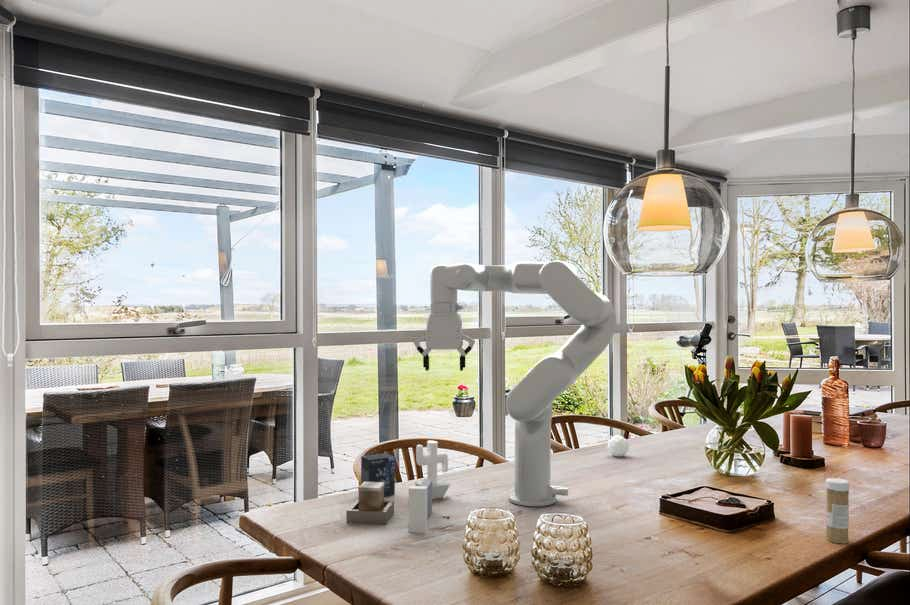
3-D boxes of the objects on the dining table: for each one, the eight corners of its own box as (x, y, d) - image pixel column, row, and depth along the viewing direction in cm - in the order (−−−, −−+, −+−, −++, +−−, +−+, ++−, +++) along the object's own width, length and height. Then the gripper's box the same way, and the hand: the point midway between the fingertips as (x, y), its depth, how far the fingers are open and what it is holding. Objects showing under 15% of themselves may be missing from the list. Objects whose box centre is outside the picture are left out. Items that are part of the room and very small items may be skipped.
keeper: (394, 512, 169) (394, 500, 169) (385, 524, 160) (385, 512, 160) (356, 511, 170) (357, 499, 170) (346, 523, 161) (346, 510, 161)
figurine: (453, 497, 183) (454, 441, 183) (423, 502, 178) (423, 445, 178) (440, 490, 189) (440, 437, 189) (410, 495, 184) (410, 440, 184)
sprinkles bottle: (825, 536, 153) (825, 476, 153) (848, 539, 151) (848, 478, 151) (826, 542, 149) (826, 481, 149) (850, 545, 147) (850, 483, 147)
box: (369, 499, 181) (369, 459, 181) (360, 494, 185) (360, 455, 185) (395, 494, 185) (395, 456, 185) (385, 490, 190) (386, 452, 190)
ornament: (625, 459, 228) (610, 439, 229) (612, 462, 234) (598, 443, 235) (637, 446, 232) (622, 427, 232) (624, 450, 238) (610, 432, 239)
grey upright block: (436, 511, 170) (436, 471, 170) (425, 532, 154) (425, 488, 154) (420, 510, 171) (420, 471, 171) (408, 532, 155) (408, 488, 155)
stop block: (384, 515, 167) (384, 482, 167) (379, 521, 162) (379, 488, 162) (363, 514, 168) (363, 481, 168) (358, 520, 163) (358, 487, 163)
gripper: (475, 308, 193) (476, 369, 193) (415, 309, 194) (415, 368, 194) (474, 309, 185) (474, 371, 185) (411, 309, 187) (411, 371, 187)
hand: (444, 370), depth 190 cm, fingers open, 9 cm apart
